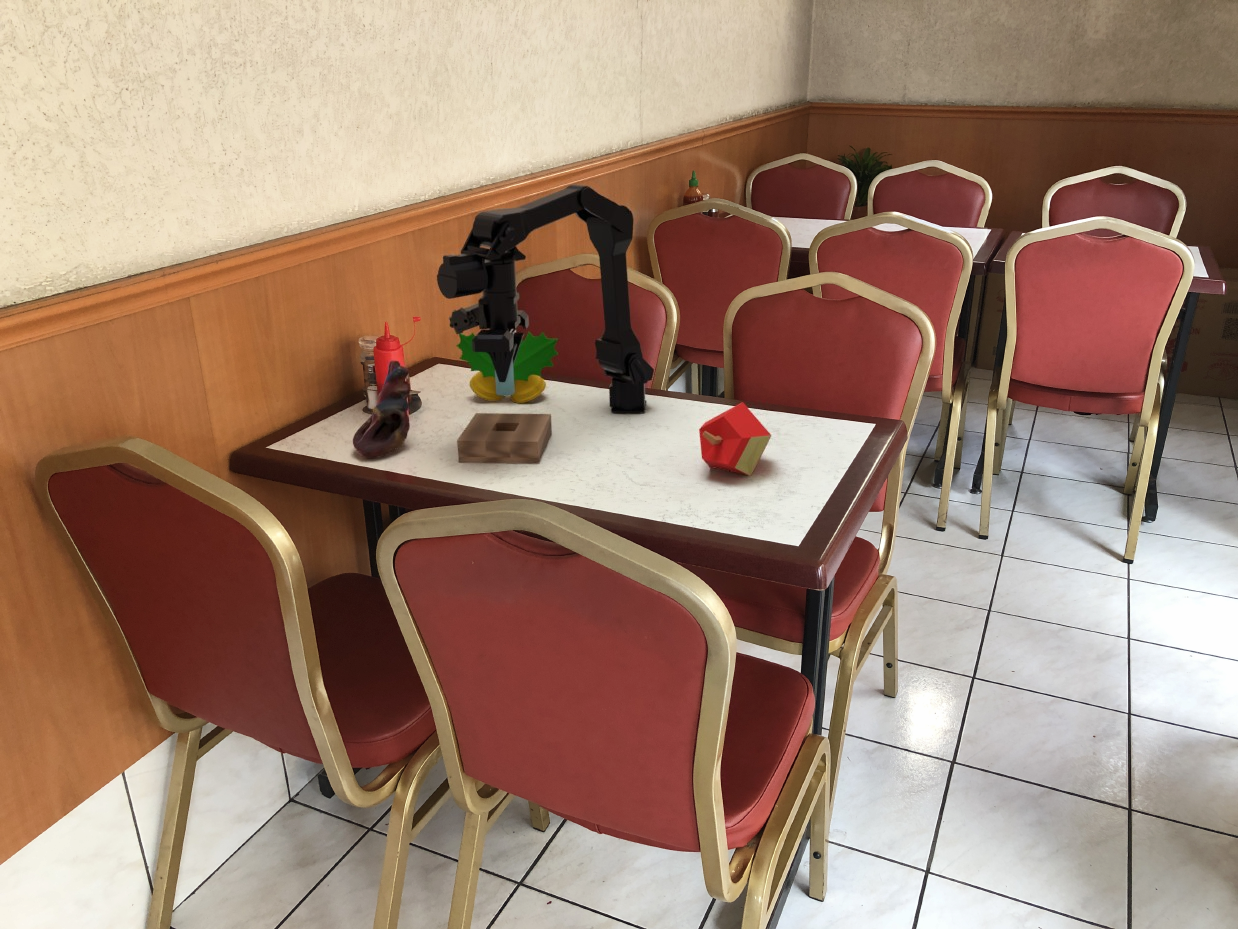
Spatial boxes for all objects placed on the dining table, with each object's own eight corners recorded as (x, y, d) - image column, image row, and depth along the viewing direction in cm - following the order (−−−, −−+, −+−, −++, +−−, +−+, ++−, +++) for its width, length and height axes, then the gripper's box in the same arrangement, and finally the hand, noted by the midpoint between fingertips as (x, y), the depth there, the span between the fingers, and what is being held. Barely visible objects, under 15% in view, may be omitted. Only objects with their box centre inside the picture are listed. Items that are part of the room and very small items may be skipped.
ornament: (567, 393, 201) (564, 322, 195) (561, 406, 193) (557, 333, 187) (469, 392, 203) (464, 321, 197) (459, 405, 195) (453, 332, 189)
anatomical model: (340, 452, 173) (329, 371, 167) (399, 432, 181) (390, 355, 175) (370, 465, 167) (359, 381, 161) (429, 444, 175) (421, 364, 169)
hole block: (551, 434, 178) (550, 413, 177) (538, 463, 166) (537, 441, 164) (477, 433, 180) (475, 413, 178) (458, 462, 167) (456, 440, 165)
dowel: (516, 390, 170) (513, 345, 167) (512, 395, 167) (510, 350, 164) (498, 389, 170) (495, 345, 167) (494, 395, 167) (491, 350, 164)
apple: (781, 477, 163) (744, 478, 150) (716, 468, 169) (676, 468, 156) (790, 407, 162) (753, 402, 149) (724, 400, 168) (684, 395, 156)
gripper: (465, 278, 171) (471, 363, 177) (437, 301, 154) (445, 394, 160) (527, 278, 170) (531, 364, 176) (506, 301, 153) (511, 396, 159)
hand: (504, 379), depth 168 cm, fingers closed on dowel, 3 cm apart
